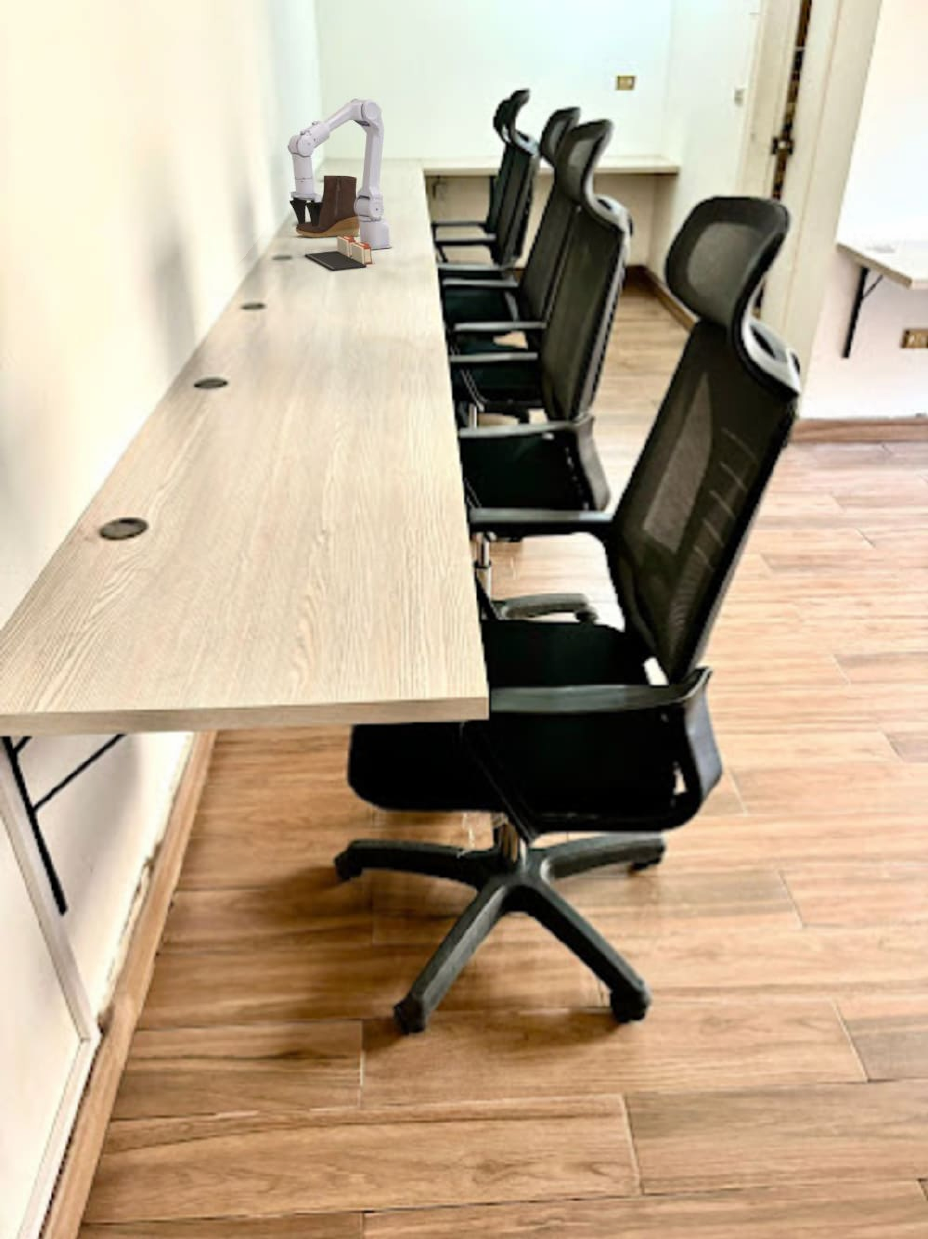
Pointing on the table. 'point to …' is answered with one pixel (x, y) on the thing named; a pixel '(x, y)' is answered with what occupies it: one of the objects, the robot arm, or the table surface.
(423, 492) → the table surface
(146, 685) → the table surface
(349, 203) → the boot
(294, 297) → the table surface
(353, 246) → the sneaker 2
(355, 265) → the shoe mat
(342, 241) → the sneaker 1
